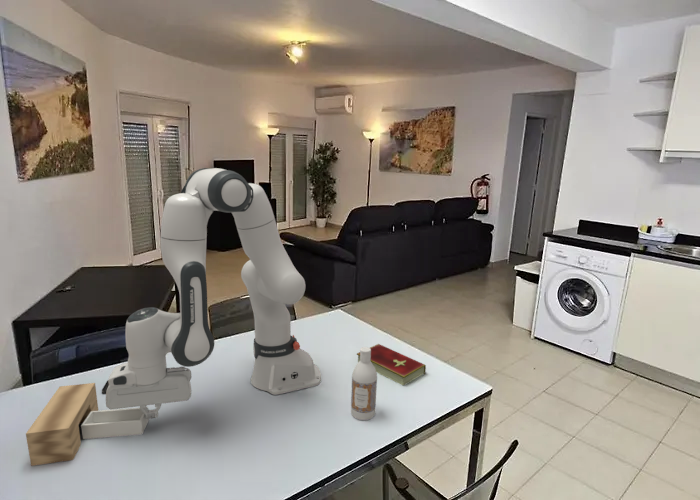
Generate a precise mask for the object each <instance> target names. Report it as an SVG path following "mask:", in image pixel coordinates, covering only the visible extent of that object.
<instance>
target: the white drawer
mask: <svg viewBox="0 0 700 500" xmlns="http://www.w3.org/2000/svg"><path fill="white" fill-rule="evenodd" d="M146 407H147V408H148V409H149V407H148V406H146ZM149 421H150V419H146V418H145V414H144V413H143V412H142V411H141V410H140V407H128V408H120V409H112V410H110V409H104V410H103V409H101V410H98V411H91V412H90V414H89V415H88V416H87V418H86V419H85V421H84V422H83V423H82V424H81V425H80V427H81V428H80V429H81V433H82V434H81V435H82V439H83V440H88V439H89V440H91V439H103V438H114V437H125V436H127V437H128V436H139V435H143V434H144V432H145V430H146V427H147V425H148V423H149Z"/></svg>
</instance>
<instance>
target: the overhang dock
mask: <svg viewBox="0 0 700 500" xmlns="http://www.w3.org/2000/svg"><path fill="white" fill-rule="evenodd" d="M91 411H99V405H98V396H97V388H96V382H91V383H89V382H88V383H80V384H72V385H61V386H59V387H58V388H57V390H56V391H55V393H54V394H53V395H52V397H51V398H50V399H49V400H48V402H47V404H46V405H45V406H44V408H42V411H41V412H40V413H39V415H38V416H37V418H36V419H35V421H33V422H32V424H31V426H30V427H29V428H28V430H27V431H26V433H25V437H26V438H25V439H26V444H27V449H28V455H29V461H30V462H29V463H30V466H31V467H32V466H34V467H35V466H39V465H41V466H42V465H47V464H54V463H62V462H69V461H73V460H74V459H75V457H76V456H77V453H78V451H79V450H80V447H81V445H82V443H81V434H80V427H79V425H80V424H81V425H82V424H83V422H84V421H85V419H86V418H87V416H88V415H89V414H90V412H91Z"/></svg>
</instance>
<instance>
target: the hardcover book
mask: <svg viewBox="0 0 700 500" xmlns="http://www.w3.org/2000/svg"><path fill="white" fill-rule="evenodd" d="M369 348H370V349H371V360H370V361H371V363H372V364H373V366H374V367H375V369H376V373H377V374H379V375H381V376H383V377H386V378H387V379H389V380H392V381H393V382H395V383H397V384H399V385H402V386H405V385H407V384H408V383H410V382H412V381H413V380H415V379H417V378H419V377H421V376H422V375H425V374H426V370H427V368H426V366H427V365H426V364H425V363H422V362H420V361H417V360H416V359H413V358H411V357H410V356H409V357H408V356H406V355H405V354H402V353H400V352H398V351H395V350H394V349H391V348H389V347H387V346H384V345H382V344H380V343H377V344H375V345H373V346H371V347H369ZM356 355H357V363H358V362H359V361H360V351H359V352H357V353H356Z"/></svg>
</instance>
